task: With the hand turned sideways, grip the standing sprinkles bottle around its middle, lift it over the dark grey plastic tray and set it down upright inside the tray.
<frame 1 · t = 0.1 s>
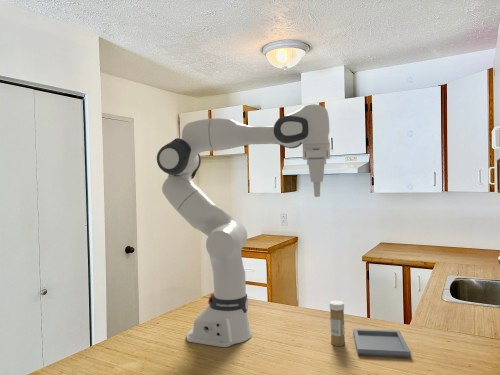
hand: (317, 196, 121), 48 cm above the countertop, tool pointing down, fingers open, 8 cm apart
tray: (379, 345, 117), on the countertop
sprinkles bottle: (337, 344, 119), on the countertop
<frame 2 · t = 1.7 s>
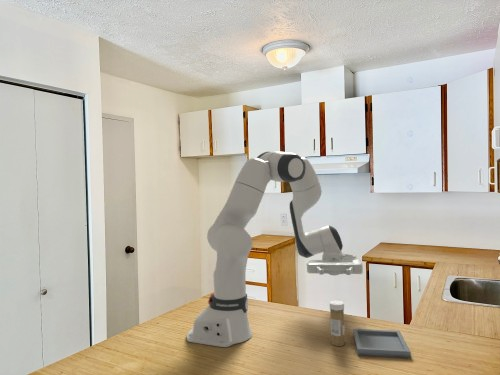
hand: (334, 272, 131), 20 cm above the countertop, tool horizontal, fingers open, 8 cm apart
nothing on the countertop moved.
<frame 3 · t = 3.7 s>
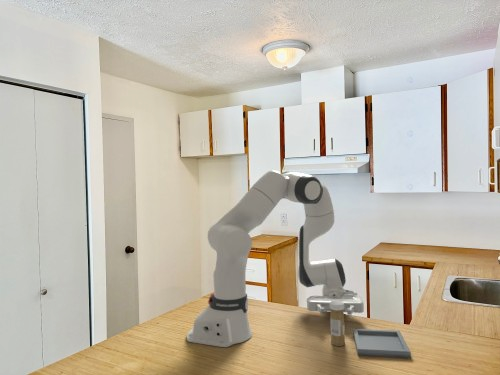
hand: (335, 311, 128), 7 cm above the countertop, tool horizontal, fingers open, 8 cm apart
nothing on the countertop moved.
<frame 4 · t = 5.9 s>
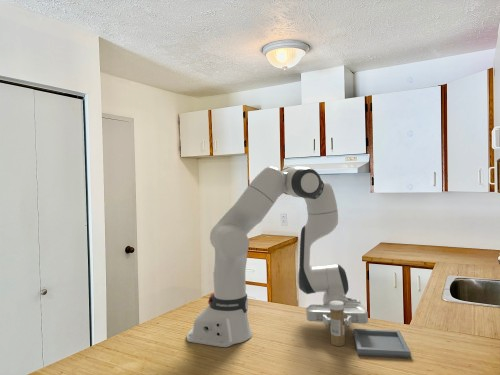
hand: (337, 323, 118), 7 cm above the countertop, tool horizontal, fingers closed on sprinkles bottle, 4 cm apart
sprinkles bottle: (337, 344, 119), on the countertop, touching gripper
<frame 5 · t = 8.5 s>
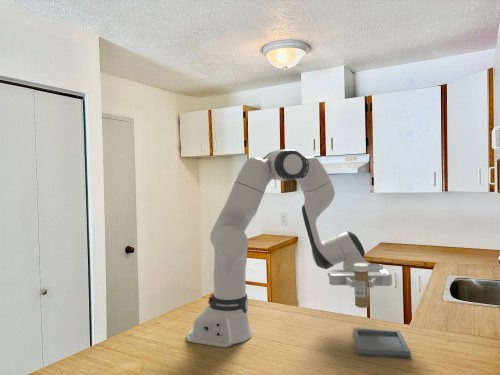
hand: (362, 284, 117), 19 cm above the countertop, tool horizontal, fingers closed on sprinkles bottle, 4 cm apart
sprinkles bottle: (361, 306, 118), point 12 cm above the countertop, touching gripper
when the fingers open (9 cm above the countertop, at t = 11.2 s): sprinkles bottle moves 1 cm, resting on tray.
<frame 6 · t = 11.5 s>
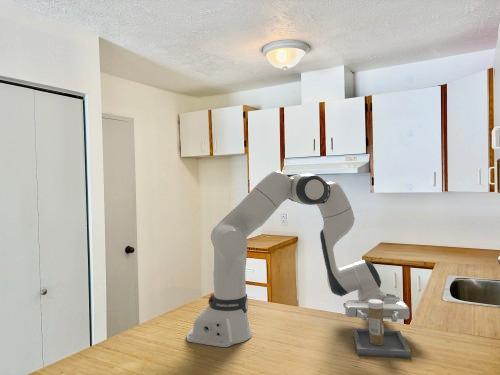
hand: (379, 318, 116), 9 cm above the countertop, tool horizontal, fingers open, 8 cm apart
sprinkles bottle: (376, 343, 117), point 1 cm above the countertop, touching tray
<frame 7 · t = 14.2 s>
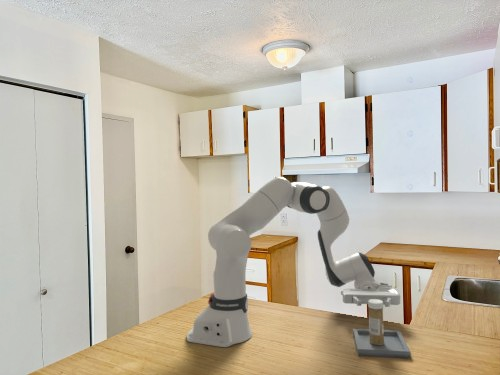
hand: (373, 304, 129), 9 cm above the countertop, tool horizontal, fingers open, 8 cm apart
nothing on the countertop moved.
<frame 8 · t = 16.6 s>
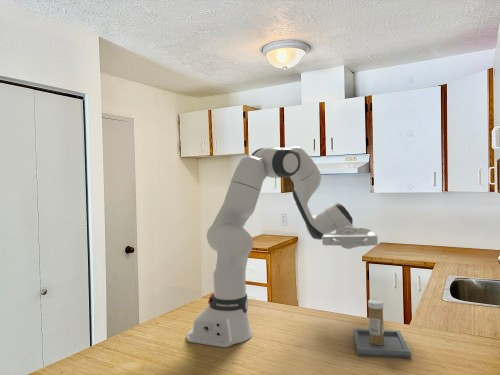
hand: (350, 243, 132), 30 cm above the countertop, tool horizontal, fingers open, 8 cm apart
nothing on the countertop moved.
at the end: sprinkles bottle inside the target area on the tray (1.0 cm from its centre), point 0.6 cm above the tray's base; sprinkles bottle tilted 0°; the gripper is holding nothing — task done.
